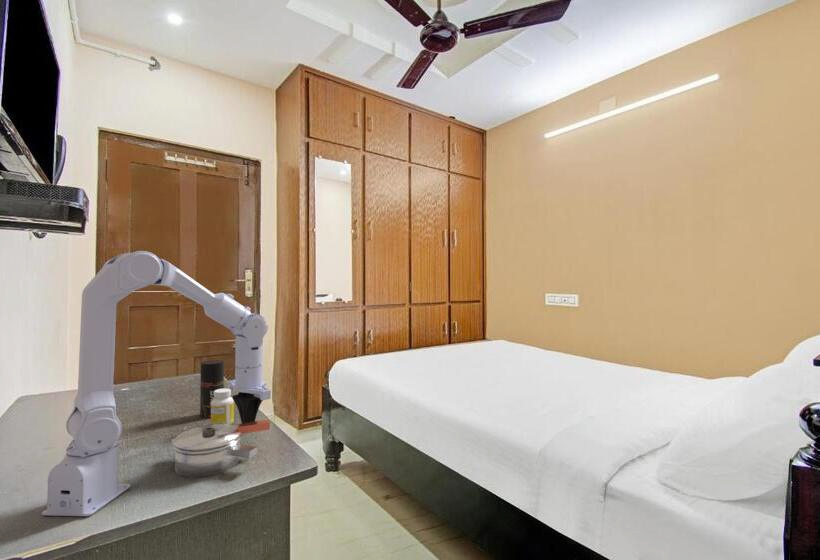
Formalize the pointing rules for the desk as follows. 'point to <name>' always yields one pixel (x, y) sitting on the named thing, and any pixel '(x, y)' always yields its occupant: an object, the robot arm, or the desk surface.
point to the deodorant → (210, 384)
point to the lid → (216, 435)
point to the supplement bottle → (222, 407)
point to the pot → (210, 459)
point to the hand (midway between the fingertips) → (248, 425)
